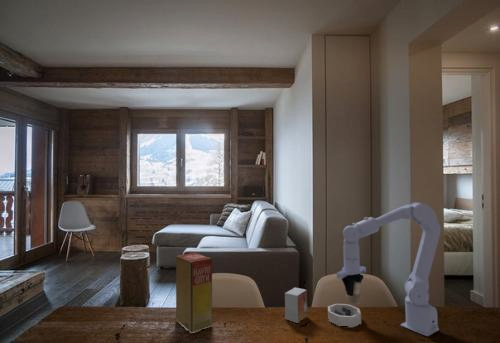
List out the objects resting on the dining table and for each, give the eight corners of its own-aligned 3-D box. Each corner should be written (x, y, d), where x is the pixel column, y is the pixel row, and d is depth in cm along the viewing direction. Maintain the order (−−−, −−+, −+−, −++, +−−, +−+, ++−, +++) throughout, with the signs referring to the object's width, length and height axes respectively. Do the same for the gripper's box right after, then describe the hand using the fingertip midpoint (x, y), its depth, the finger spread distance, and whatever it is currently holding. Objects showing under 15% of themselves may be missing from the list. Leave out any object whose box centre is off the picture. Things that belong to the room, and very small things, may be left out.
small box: (298, 325, 110) (297, 295, 111) (285, 321, 114) (284, 292, 114) (308, 317, 117) (307, 289, 117) (295, 313, 120) (294, 286, 120)
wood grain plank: (360, 303, 112) (359, 282, 112) (356, 304, 110) (356, 283, 111) (349, 298, 116) (348, 279, 116) (345, 300, 115) (345, 280, 115)
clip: (353, 317, 114) (353, 309, 114) (343, 321, 110) (343, 313, 111) (344, 313, 117) (344, 306, 117) (334, 317, 114) (334, 309, 114)
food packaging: (214, 326, 110) (213, 257, 111) (190, 335, 104) (190, 262, 105) (196, 314, 120) (195, 252, 121) (174, 322, 115) (174, 255, 116)
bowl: (367, 321, 112) (366, 311, 112) (346, 330, 106) (346, 319, 106) (342, 310, 122) (341, 301, 122) (321, 318, 115) (321, 308, 115)
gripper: (354, 253, 121) (355, 287, 121) (330, 258, 113) (330, 295, 113) (370, 256, 115) (371, 292, 115) (345, 262, 107) (346, 301, 107)
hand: (352, 294), depth 113 cm, fingers closed on wood grain plank, 2 cm apart
